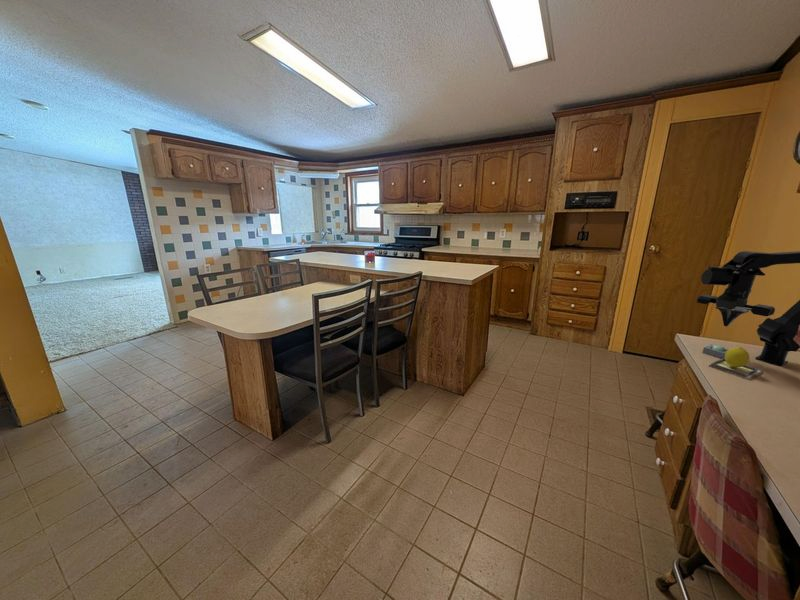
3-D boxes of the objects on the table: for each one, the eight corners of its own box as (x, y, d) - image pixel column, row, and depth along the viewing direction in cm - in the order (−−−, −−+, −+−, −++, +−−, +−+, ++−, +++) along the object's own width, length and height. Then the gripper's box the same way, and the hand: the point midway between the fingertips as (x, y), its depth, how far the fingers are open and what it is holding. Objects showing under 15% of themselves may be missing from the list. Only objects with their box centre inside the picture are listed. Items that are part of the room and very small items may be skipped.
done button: (713, 351, 115) (715, 344, 114) (723, 355, 113) (726, 347, 112) (709, 353, 114) (711, 345, 113) (719, 356, 111) (722, 349, 110)
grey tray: (722, 360, 109) (723, 356, 109) (762, 372, 100) (764, 369, 100) (708, 366, 105) (709, 362, 104) (748, 380, 96) (750, 376, 95)
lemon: (749, 372, 99) (757, 351, 97) (730, 370, 100) (737, 349, 98) (735, 364, 104) (743, 344, 102) (717, 363, 105) (724, 343, 103)
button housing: (709, 349, 117) (711, 344, 116) (730, 356, 112) (732, 350, 111) (702, 352, 115) (704, 347, 114) (723, 359, 109) (725, 353, 109)
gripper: (695, 283, 110) (683, 321, 115) (769, 295, 94) (753, 339, 99) (709, 280, 115) (697, 317, 119) (782, 291, 98) (766, 333, 103)
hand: (725, 326), depth 110 cm, fingers closed
